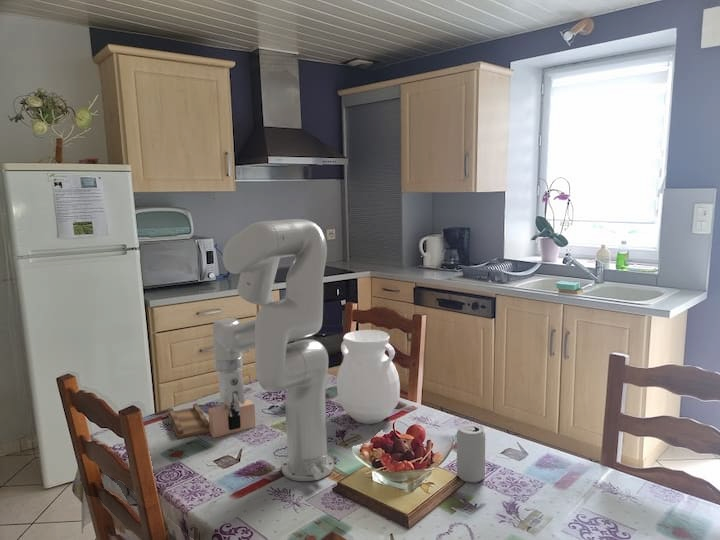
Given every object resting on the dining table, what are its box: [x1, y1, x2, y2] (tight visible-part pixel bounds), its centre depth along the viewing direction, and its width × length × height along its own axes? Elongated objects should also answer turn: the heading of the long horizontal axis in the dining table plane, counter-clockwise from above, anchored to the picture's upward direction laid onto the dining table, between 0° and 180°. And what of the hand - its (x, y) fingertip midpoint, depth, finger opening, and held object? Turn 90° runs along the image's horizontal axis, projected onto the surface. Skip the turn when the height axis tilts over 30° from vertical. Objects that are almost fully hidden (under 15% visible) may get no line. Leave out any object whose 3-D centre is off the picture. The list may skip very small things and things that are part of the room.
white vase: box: [336, 329, 401, 425], centre depth 156 cm, size 19×18×25 cm
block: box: [207, 398, 256, 438], centre depth 151 cm, size 4×12×7 cm, turn 122°
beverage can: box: [456, 422, 486, 484], centre depth 123 cm, size 6×6×12 cm
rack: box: [167, 403, 210, 440], centre depth 156 cm, size 18×9×2 cm, turn 28°
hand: (232, 424), depth 152 cm, fingers closed on block, 4 cm apart
